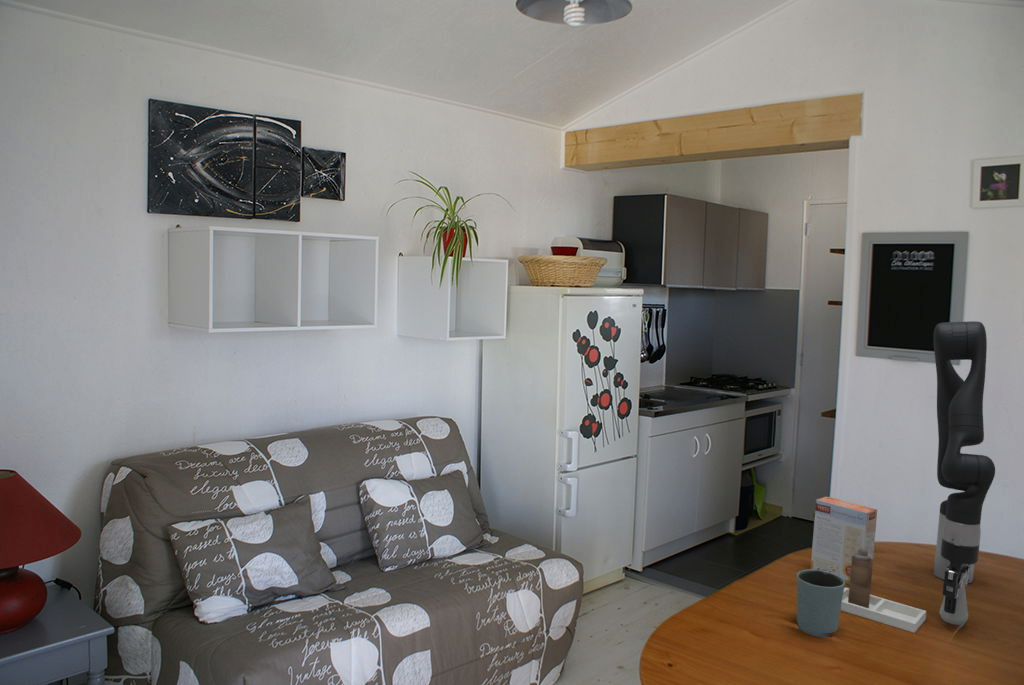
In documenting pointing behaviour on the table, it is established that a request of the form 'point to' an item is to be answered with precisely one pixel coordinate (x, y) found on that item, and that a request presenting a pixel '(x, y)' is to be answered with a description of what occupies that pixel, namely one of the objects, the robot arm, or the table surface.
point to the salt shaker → (957, 608)
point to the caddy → (886, 612)
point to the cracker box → (841, 535)
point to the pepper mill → (860, 578)
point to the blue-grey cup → (819, 601)
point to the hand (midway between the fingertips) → (954, 607)
